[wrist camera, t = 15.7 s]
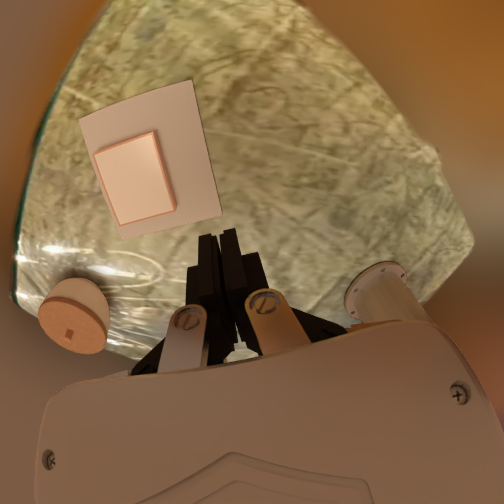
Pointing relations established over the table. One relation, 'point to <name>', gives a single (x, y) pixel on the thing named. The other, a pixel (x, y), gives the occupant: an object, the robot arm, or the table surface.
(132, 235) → the mat
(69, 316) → the lidded jar
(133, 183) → the block
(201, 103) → the table surface
